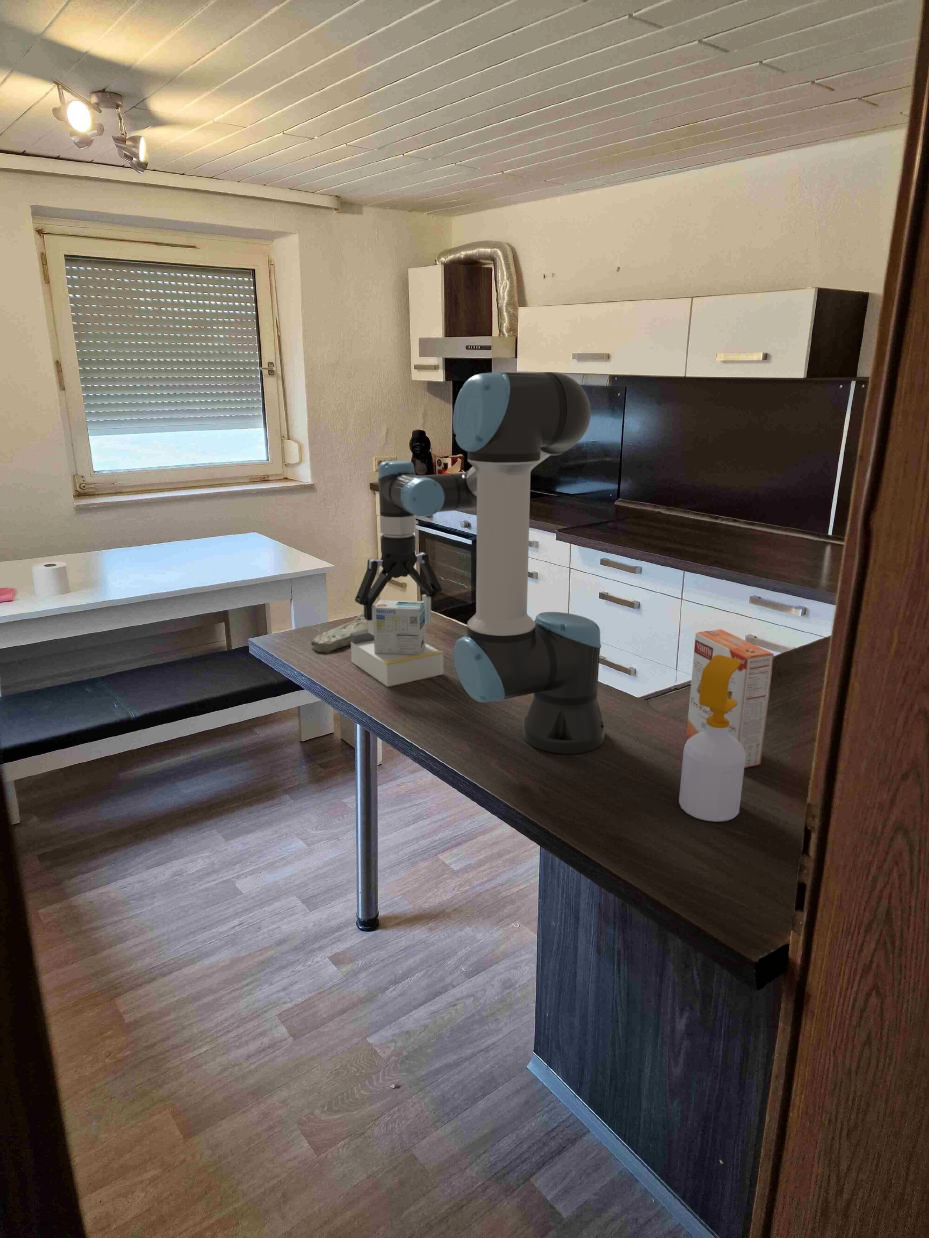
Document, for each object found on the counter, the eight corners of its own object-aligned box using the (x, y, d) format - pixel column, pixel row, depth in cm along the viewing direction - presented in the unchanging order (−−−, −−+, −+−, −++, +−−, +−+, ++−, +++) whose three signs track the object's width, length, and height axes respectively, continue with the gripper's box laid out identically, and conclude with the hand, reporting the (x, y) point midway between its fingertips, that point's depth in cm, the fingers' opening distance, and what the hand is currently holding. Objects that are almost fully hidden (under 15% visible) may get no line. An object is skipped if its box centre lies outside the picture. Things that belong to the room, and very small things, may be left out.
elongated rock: (301, 654, 197) (332, 663, 192) (299, 634, 195) (331, 643, 190) (388, 611, 225) (417, 619, 220) (387, 594, 223) (417, 601, 218)
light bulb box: (426, 645, 183) (425, 600, 180) (421, 656, 177) (420, 608, 174) (379, 644, 184) (378, 598, 181) (373, 654, 178) (372, 607, 175)
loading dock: (443, 674, 180) (443, 644, 178) (387, 686, 173) (386, 656, 171) (404, 651, 195) (404, 623, 193) (351, 661, 187) (350, 633, 185)
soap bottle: (748, 806, 126) (766, 659, 119) (723, 830, 120) (740, 675, 113) (695, 787, 132) (709, 645, 125) (668, 808, 126) (681, 660, 118)
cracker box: (683, 738, 150) (693, 631, 143) (710, 733, 152) (722, 627, 145) (732, 772, 137) (746, 656, 131) (761, 766, 139) (776, 652, 133)
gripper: (438, 526, 182) (439, 615, 188) (336, 537, 169) (341, 633, 176) (456, 531, 176) (456, 623, 182) (352, 543, 163) (356, 642, 170)
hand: (400, 628), depth 179 cm, fingers open, 13 cm apart
